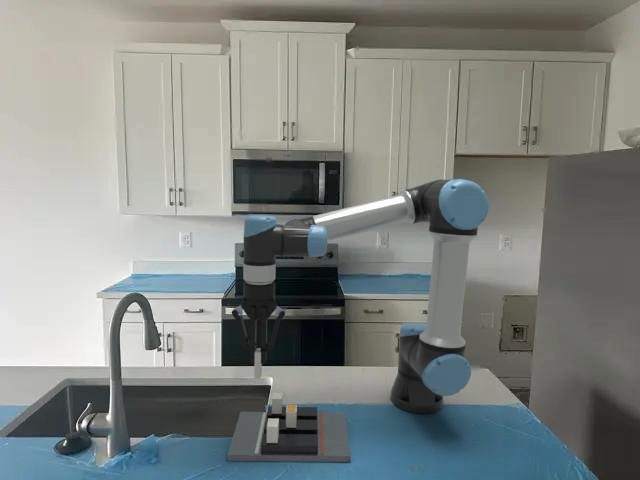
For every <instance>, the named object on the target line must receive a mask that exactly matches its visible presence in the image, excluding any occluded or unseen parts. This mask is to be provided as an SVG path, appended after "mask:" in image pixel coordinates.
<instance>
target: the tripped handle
mask: <svg viewBox="0 0 640 480" xmlns="http://www.w3.org/2000/svg"><path fill="white" fill-rule="evenodd" d="M286 407H287V408H286V428H296V422H297V407H298V405H297V404H287V405H286Z"/></svg>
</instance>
